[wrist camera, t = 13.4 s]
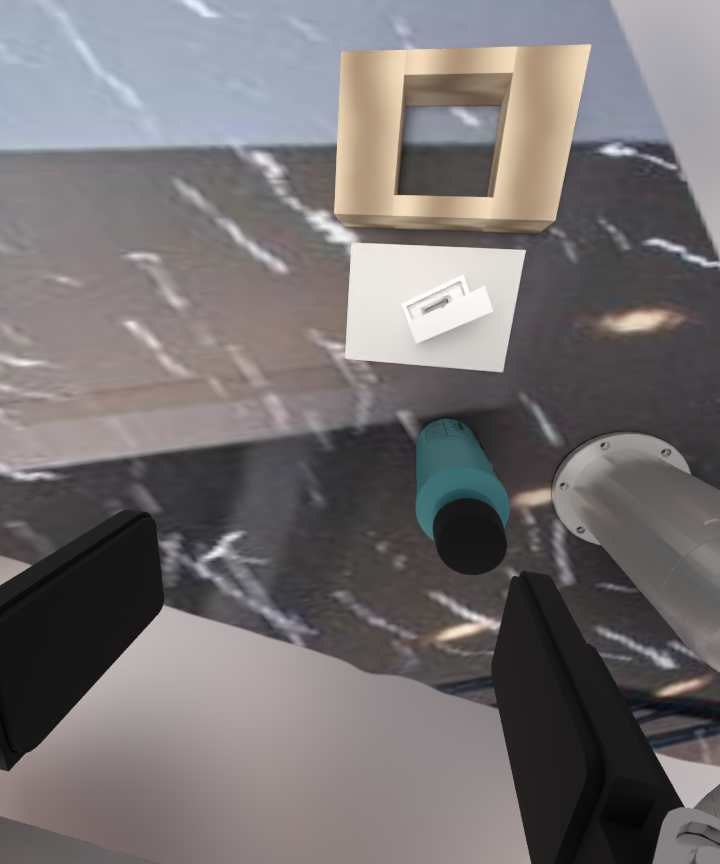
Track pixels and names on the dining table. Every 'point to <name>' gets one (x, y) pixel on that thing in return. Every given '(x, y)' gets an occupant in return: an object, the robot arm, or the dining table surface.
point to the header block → (458, 86)
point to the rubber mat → (419, 273)
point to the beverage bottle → (460, 498)
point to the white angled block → (445, 308)
